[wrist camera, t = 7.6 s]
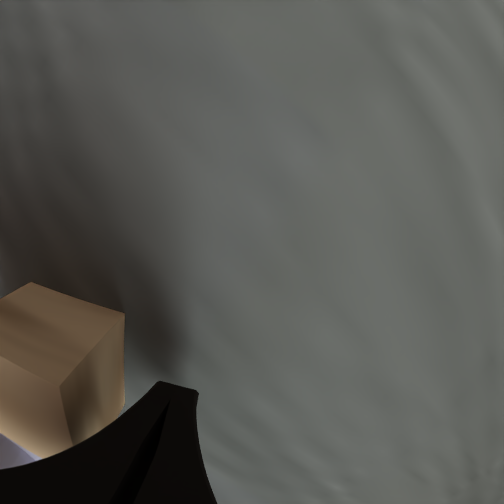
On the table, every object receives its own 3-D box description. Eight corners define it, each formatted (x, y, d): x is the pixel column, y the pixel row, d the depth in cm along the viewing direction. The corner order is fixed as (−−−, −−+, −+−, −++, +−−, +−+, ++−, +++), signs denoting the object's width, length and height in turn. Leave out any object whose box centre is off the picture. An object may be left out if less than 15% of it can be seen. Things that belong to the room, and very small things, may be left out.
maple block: (125, 403, 11) (83, 478, 7) (42, 369, 11) (-12, 424, 7) (125, 312, 10) (58, 386, 6) (32, 281, 10) (-45, 326, 6)
